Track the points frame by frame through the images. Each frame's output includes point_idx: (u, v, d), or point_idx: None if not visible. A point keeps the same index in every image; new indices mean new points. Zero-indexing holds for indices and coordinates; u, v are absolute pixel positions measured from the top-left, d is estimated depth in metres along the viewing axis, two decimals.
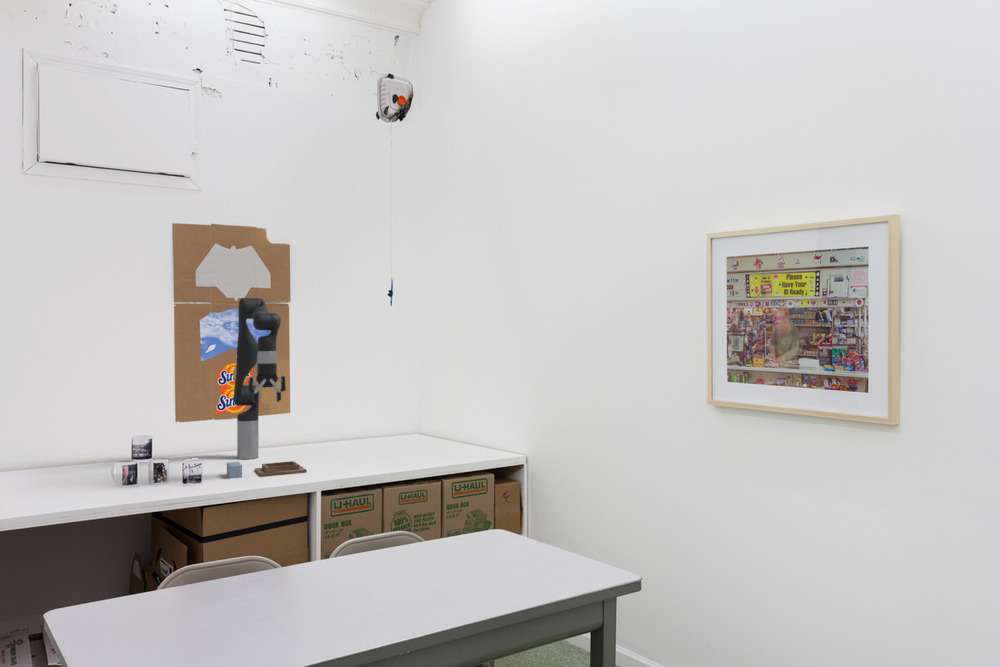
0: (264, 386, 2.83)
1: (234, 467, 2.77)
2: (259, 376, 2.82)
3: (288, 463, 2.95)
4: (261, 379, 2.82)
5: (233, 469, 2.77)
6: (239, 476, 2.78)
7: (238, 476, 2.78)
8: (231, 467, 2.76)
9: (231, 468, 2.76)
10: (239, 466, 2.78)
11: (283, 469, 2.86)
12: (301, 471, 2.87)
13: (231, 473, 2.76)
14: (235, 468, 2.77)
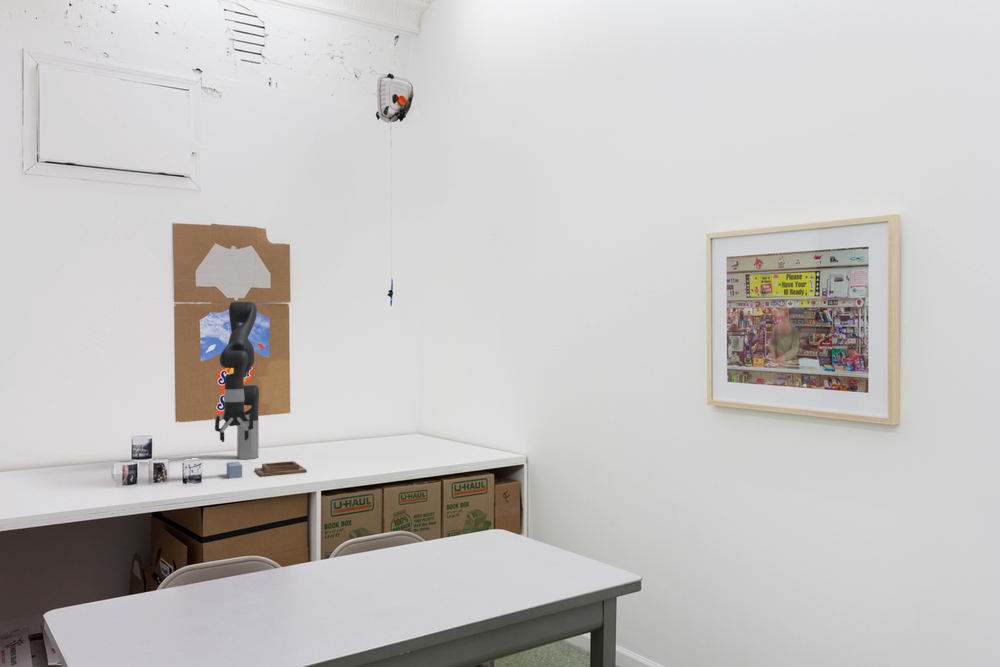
0: (231, 425, 2.80)
1: (234, 467, 2.77)
2: (226, 415, 2.79)
3: (288, 463, 2.95)
4: (228, 418, 2.79)
5: (233, 469, 2.77)
6: (239, 476, 2.78)
7: (238, 476, 2.78)
8: (231, 467, 2.76)
9: (231, 468, 2.76)
10: (239, 466, 2.78)
11: (283, 469, 2.86)
12: (301, 471, 2.87)
13: (231, 473, 2.76)
14: (235, 468, 2.77)
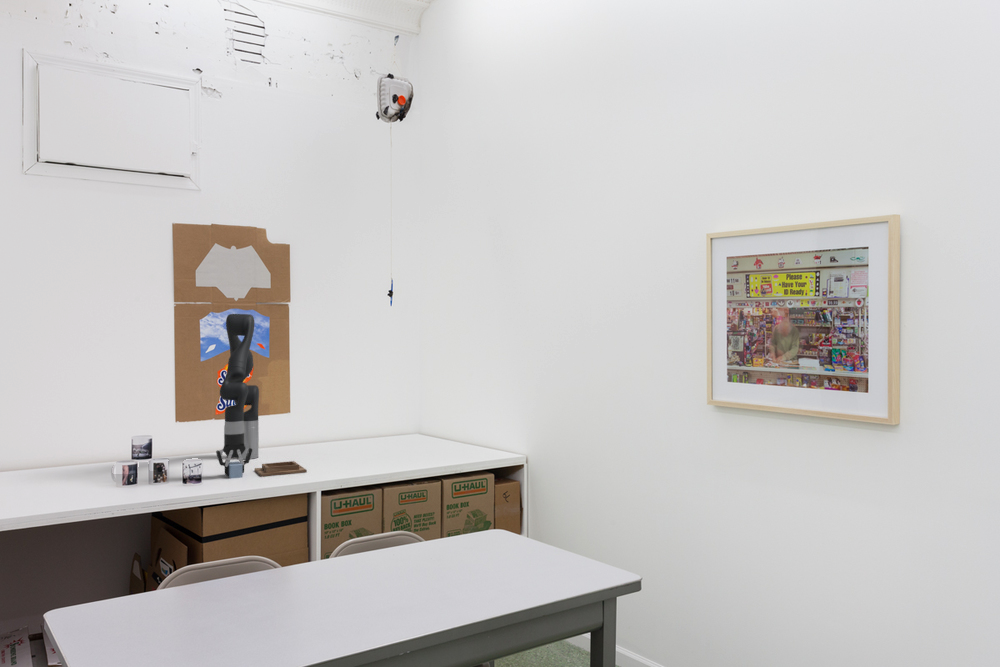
0: (231, 457, 2.80)
1: (235, 467, 2.77)
2: (226, 447, 2.79)
3: (288, 463, 2.95)
4: (228, 450, 2.79)
5: (234, 469, 2.77)
6: (239, 476, 2.78)
7: (238, 476, 2.78)
8: (232, 467, 2.76)
9: (232, 468, 2.76)
10: (239, 466, 2.78)
11: (283, 469, 2.86)
12: (301, 471, 2.87)
13: (232, 473, 2.76)
14: (236, 468, 2.77)
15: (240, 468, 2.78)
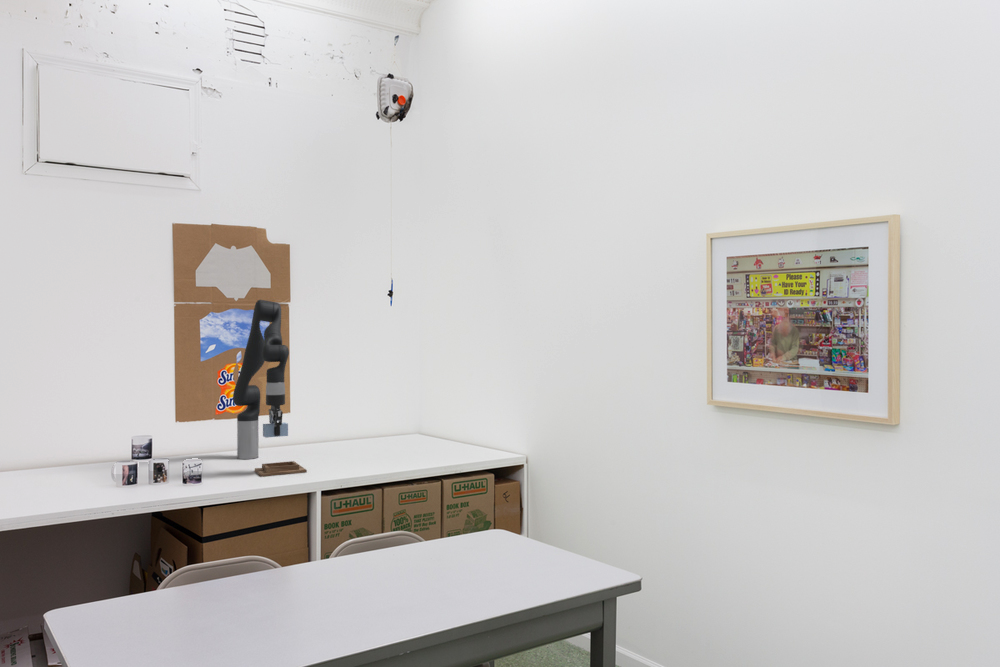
0: (272, 416, 2.89)
1: (263, 426, 2.87)
2: (271, 406, 2.91)
3: (288, 463, 2.95)
4: (271, 409, 2.90)
5: (263, 427, 2.87)
6: (265, 435, 2.85)
7: (264, 435, 2.86)
8: (263, 425, 2.88)
9: (263, 426, 2.88)
10: (265, 425, 2.85)
11: (283, 469, 2.86)
12: (301, 471, 2.87)
13: (263, 431, 2.88)
14: (264, 427, 2.86)
15: (265, 428, 2.85)
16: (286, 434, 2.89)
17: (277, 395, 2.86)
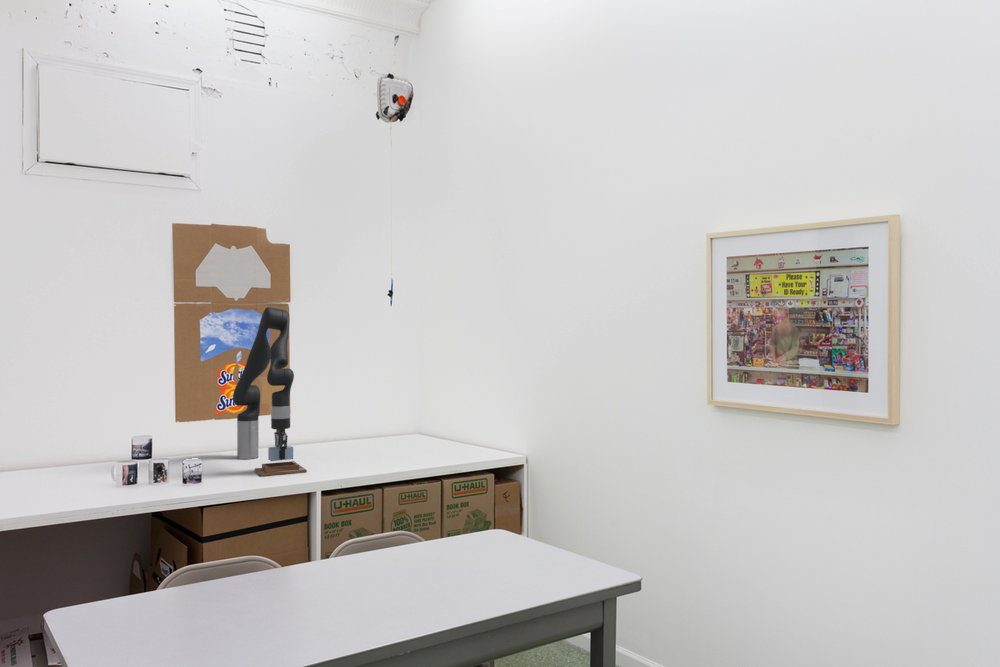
0: None
1: (269, 449, 2.88)
2: (276, 429, 2.92)
3: (288, 463, 2.95)
4: (276, 433, 2.91)
5: (269, 451, 2.88)
6: (270, 459, 2.86)
7: (270, 459, 2.87)
8: (268, 448, 2.89)
9: (268, 449, 2.89)
10: (270, 449, 2.86)
11: (283, 469, 2.86)
12: (301, 471, 2.87)
13: (268, 454, 2.89)
14: (269, 450, 2.88)
15: (270, 452, 2.86)
16: (291, 457, 2.90)
17: (282, 419, 2.87)
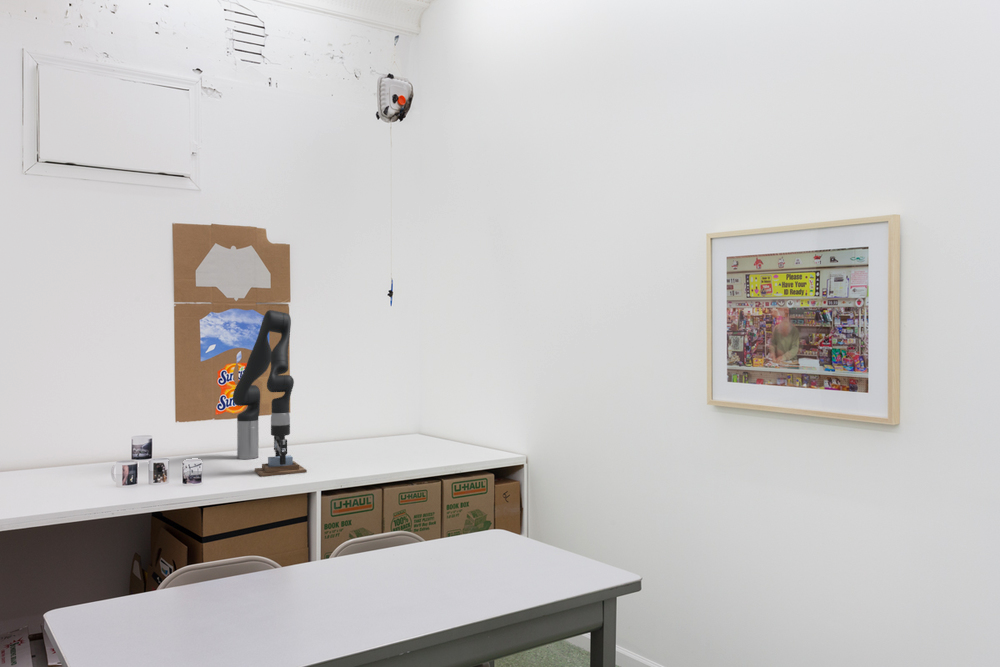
0: (277, 446, 2.90)
1: (268, 459, 2.88)
2: (276, 436, 2.92)
3: None
4: (276, 439, 2.91)
5: (268, 460, 2.88)
6: None
7: None
8: (268, 458, 2.89)
9: (268, 459, 2.89)
10: (269, 459, 2.87)
11: (283, 469, 2.86)
12: (301, 471, 2.87)
13: (268, 464, 2.89)
14: (268, 460, 2.88)
15: (269, 461, 2.86)
16: None
17: (282, 425, 2.87)
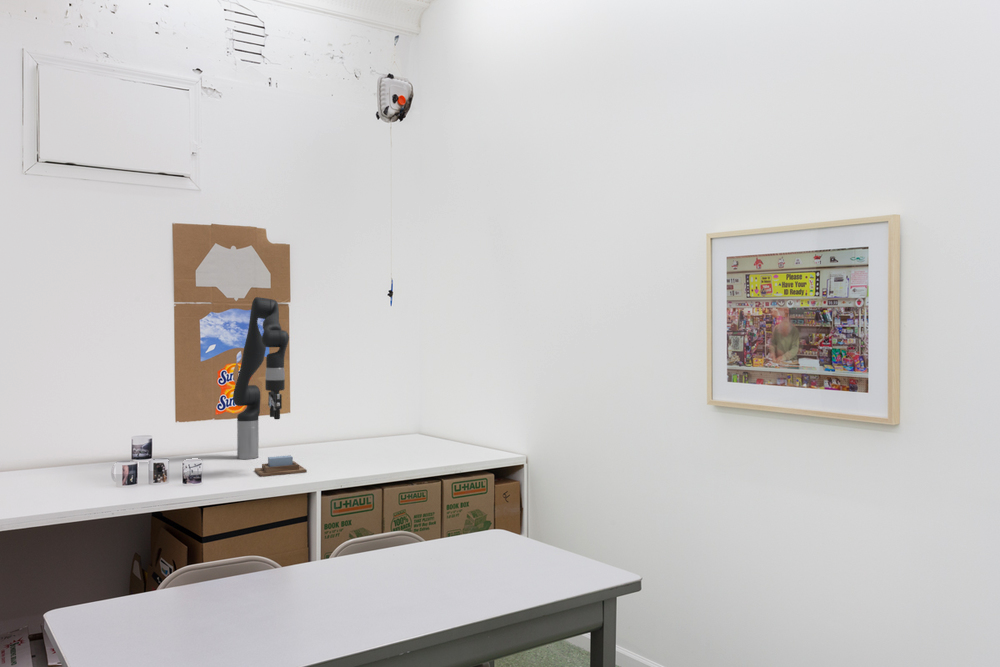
0: (271, 402, 2.90)
1: (268, 459, 2.88)
2: None
3: None
4: (270, 394, 2.91)
5: (268, 460, 2.88)
6: None
7: None
8: (268, 458, 2.89)
9: (268, 459, 2.89)
10: (269, 459, 2.87)
11: (283, 469, 2.86)
12: (301, 471, 2.87)
13: (268, 464, 2.89)
14: (268, 460, 2.88)
15: (269, 461, 2.86)
16: None
17: (276, 380, 2.86)
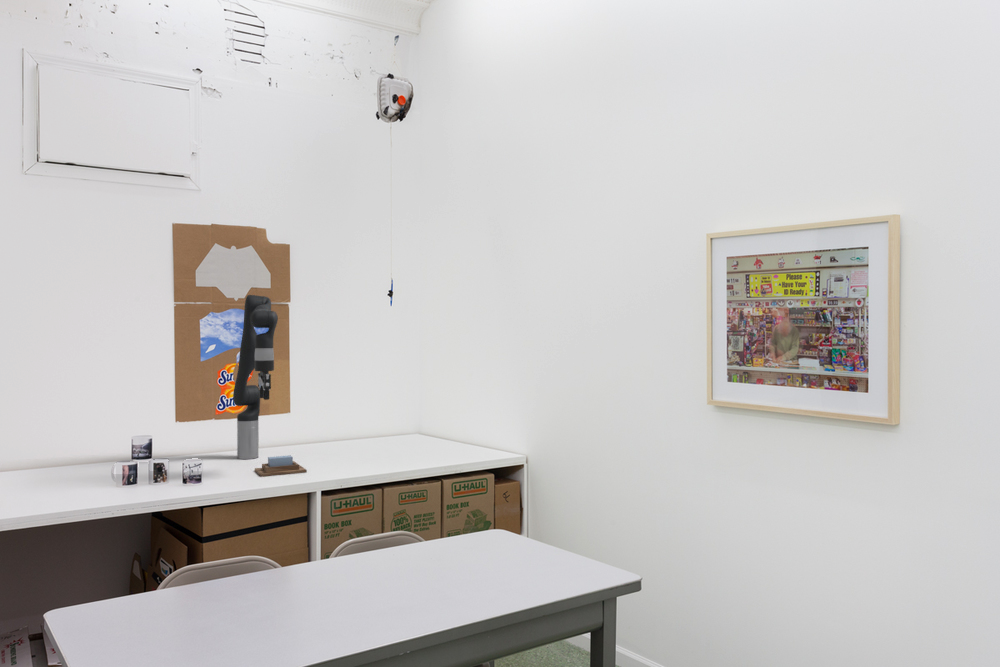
0: (261, 382, 2.89)
1: (268, 459, 2.88)
2: (260, 372, 2.91)
3: None
4: (260, 375, 2.90)
5: (268, 460, 2.88)
6: None
7: None
8: (268, 458, 2.89)
9: (268, 459, 2.89)
10: (269, 459, 2.87)
11: (283, 469, 2.86)
12: (301, 471, 2.87)
13: (268, 464, 2.89)
14: (268, 460, 2.88)
15: (269, 461, 2.86)
16: None
17: (265, 361, 2.85)
